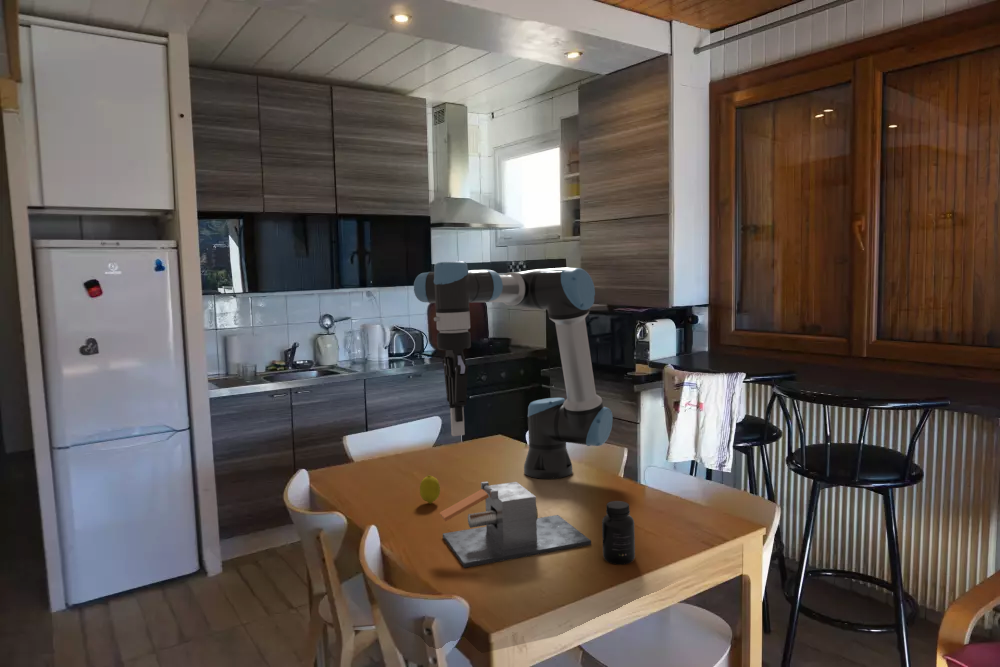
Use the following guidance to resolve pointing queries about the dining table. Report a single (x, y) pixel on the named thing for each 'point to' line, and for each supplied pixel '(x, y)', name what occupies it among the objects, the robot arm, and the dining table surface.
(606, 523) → the supplement bottle
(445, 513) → the tan flat bar
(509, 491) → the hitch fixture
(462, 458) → the dining table surface
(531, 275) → the robot arm
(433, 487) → the lemon
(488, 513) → the lynch pin
